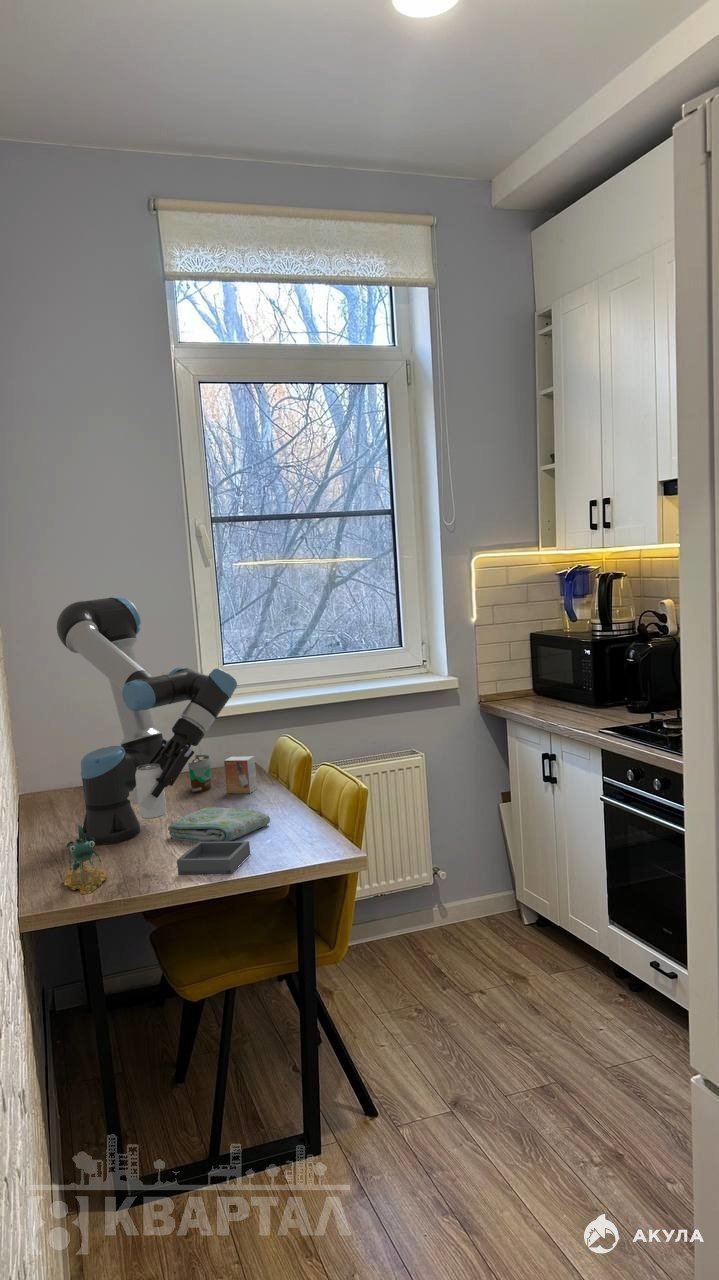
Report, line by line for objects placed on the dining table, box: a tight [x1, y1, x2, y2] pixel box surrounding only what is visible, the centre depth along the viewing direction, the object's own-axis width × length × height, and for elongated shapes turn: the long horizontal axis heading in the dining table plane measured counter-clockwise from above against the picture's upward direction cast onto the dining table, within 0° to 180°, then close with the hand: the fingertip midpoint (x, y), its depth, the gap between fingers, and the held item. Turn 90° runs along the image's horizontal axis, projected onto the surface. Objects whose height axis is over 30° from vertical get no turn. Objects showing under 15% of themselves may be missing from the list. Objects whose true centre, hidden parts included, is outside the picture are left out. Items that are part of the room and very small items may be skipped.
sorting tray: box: [176, 840, 251, 876], centre depth 218 cm, size 13×13×4 cm
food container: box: [187, 754, 213, 794], centre depth 292 cm, size 12×6×10 cm, turn 179°
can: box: [135, 764, 168, 820], centre depth 223 cm, size 6×6×12 cm
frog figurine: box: [64, 824, 108, 895], centre depth 214 cm, size 10×18×15 cm, turn 18°
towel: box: [167, 806, 271, 843], centre depth 245 cm, size 18×21×5 cm
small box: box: [223, 755, 258, 794], centre depth 285 cm, size 8×6×10 cm
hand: (137, 804), depth 222 cm, fingers closed on can, 6 cm apart
